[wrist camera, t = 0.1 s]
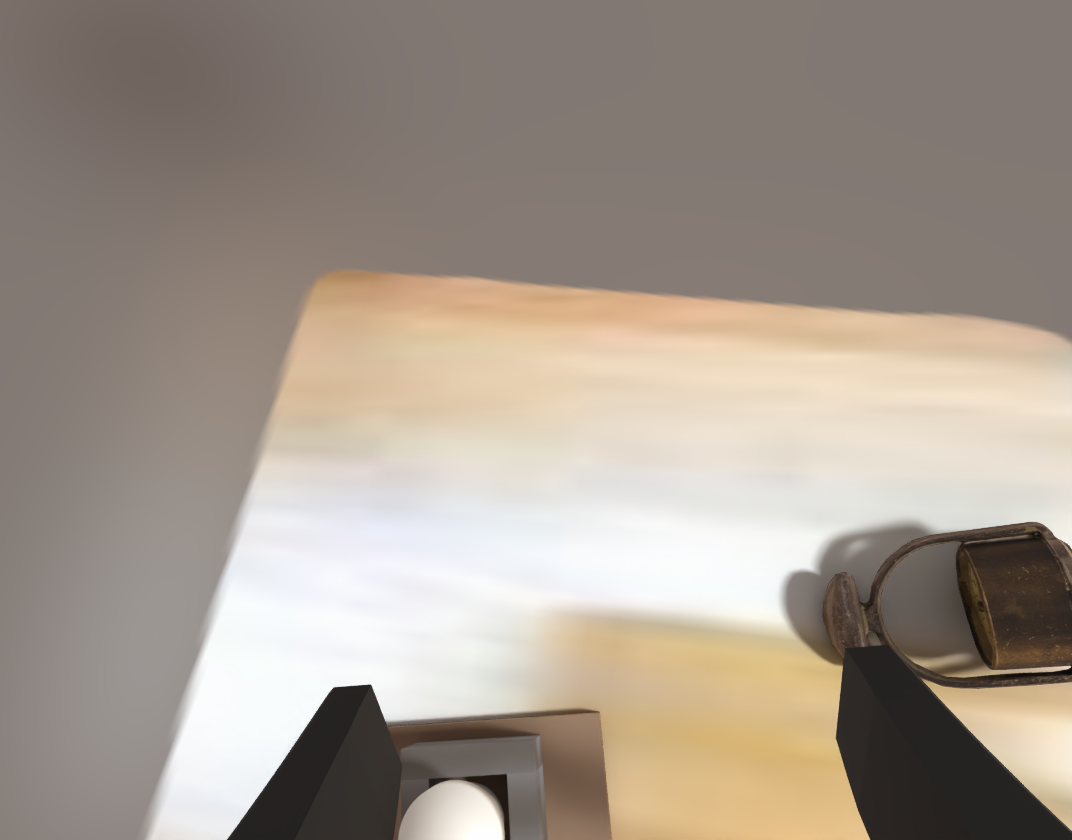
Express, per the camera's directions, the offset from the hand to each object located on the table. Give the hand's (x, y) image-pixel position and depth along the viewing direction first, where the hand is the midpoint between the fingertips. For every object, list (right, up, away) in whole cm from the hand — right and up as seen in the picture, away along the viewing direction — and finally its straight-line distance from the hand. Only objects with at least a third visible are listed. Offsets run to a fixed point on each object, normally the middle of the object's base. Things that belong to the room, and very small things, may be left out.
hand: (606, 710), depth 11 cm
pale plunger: (-4, -16, +25) cm, 30 cm away
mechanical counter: (+22, -6, +29) cm, 37 cm away
